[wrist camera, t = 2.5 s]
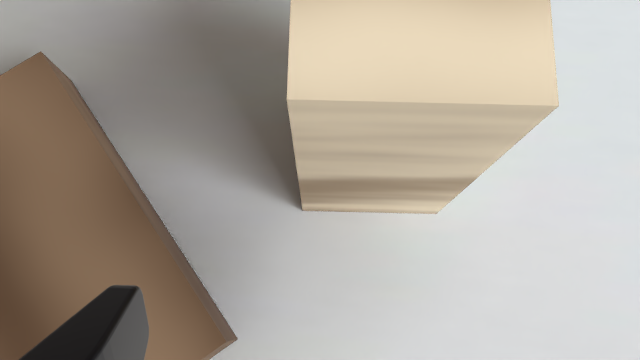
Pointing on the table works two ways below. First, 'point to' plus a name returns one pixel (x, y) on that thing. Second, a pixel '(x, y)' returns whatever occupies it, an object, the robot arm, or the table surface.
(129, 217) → the walnut base block
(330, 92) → the birch block
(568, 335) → the table surface
